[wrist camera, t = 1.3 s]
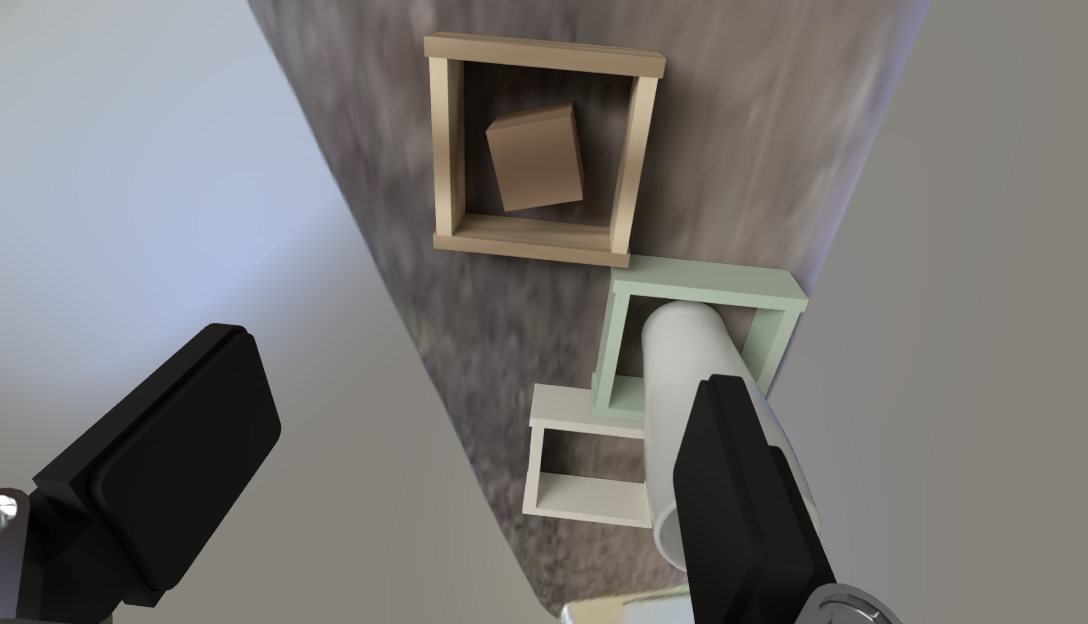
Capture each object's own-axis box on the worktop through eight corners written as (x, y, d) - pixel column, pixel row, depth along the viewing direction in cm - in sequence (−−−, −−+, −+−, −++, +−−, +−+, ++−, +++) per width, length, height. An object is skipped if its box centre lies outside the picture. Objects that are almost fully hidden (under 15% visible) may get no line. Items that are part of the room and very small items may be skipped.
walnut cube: (498, 114, 27) (485, 131, 24) (573, 100, 26) (570, 116, 23) (514, 186, 29) (504, 211, 26) (583, 175, 28) (582, 199, 25)
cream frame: (535, 383, 37) (530, 417, 34) (681, 399, 36) (689, 435, 33) (527, 476, 42) (522, 513, 39) (654, 491, 42) (658, 529, 39)
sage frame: (612, 252, 31) (614, 279, 28) (788, 270, 30) (809, 300, 27) (591, 381, 36) (591, 415, 33) (740, 397, 36) (753, 433, 33)
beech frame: (443, 31, 25) (423, 36, 22) (657, 50, 25) (666, 58, 22) (449, 223, 31) (433, 248, 28) (624, 241, 30) (627, 268, 27)
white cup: (732, 367, 35) (813, 583, 22) (632, 373, 36) (654, 584, 23) (737, 280, 31) (837, 478, 18) (625, 290, 32) (648, 484, 19)
